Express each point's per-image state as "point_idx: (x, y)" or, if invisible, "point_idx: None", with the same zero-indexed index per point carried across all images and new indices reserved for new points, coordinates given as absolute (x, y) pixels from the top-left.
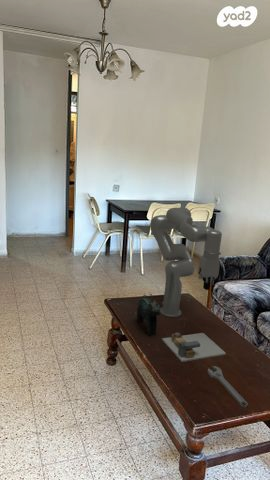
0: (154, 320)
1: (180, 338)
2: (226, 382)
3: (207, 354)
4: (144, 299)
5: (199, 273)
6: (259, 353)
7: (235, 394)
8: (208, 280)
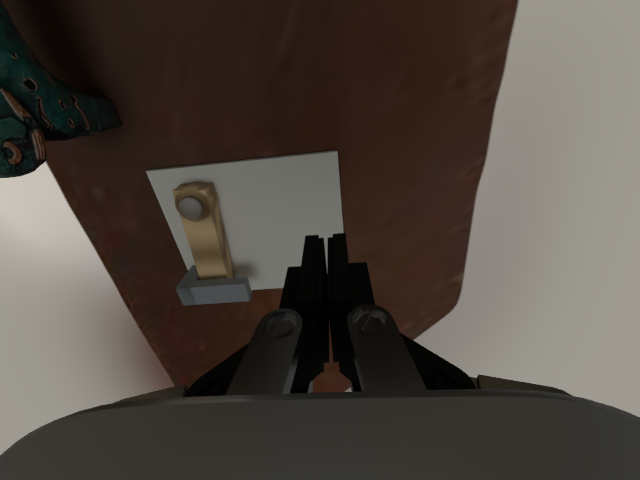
0: (51, 140)
1: (202, 226)
2: None
3: (284, 281)
4: None
5: (71, 451)
6: (458, 289)
7: None
8: (345, 363)
